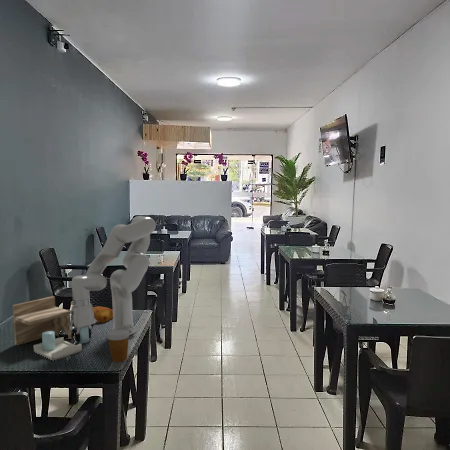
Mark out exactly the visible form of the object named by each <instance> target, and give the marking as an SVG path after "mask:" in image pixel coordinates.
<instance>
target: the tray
mask: <svg viewBox="0 0 450 450" xmlns="http://www.w3.org/2000/svg"><path fill="white" fill-rule="evenodd" d="M82 351H83V344H80V343H78V344H74V343H72V342H69V341H68V340H65V339H64V337H59V336H58V337H57V338H56V335H55V333H54V331H46V332H43V333H42V338H41V342H40V343H37V344H33V353H34V352H35V354H36V353H37V355H38V354H40V355H39V356H41V355H42V356H41V357H43V356H44V357H43V358H45V357H46V358H45V359H47V358H48V359H47V360H49V359H50V361H51V360H52V362H55V361H57V359H58V360H60V359H63V358H66V357H68V356H71V355H74V354H77V353H80V352H82ZM54 360H55V361H54Z"/></svg>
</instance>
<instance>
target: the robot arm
mask: <svg viewBox="0 0 450 450" xmlns="http://www.w3.org/2000/svg"><path fill="white" fill-rule="evenodd" d="M156 225H157V223H156V221H155V220H154V219H153V218H152V217H149V216H142V215H138V216H135V217H133V218H132V219H131V222H130V223H128V224H115V226H113V227H112V229H111V231H110V234H109V236H108V237H107V239H106V241H105V243H104V245H103V247H102V249H101V250H100V252H99V253H98V254H97V255H96V256H95V258H94V259H93V260H92V262H91V263H90V265H89V267H88V269H87V270H86V273H85V275H75V276H73V277H72V279H71V290H72V301H71V302H70V306H71V310H70V320H71V323H70V325H69V326H68V329H69V330H70V331H71V333H73V334H74V341H75V342H76V343H78V342H80V334H79V329H80V328H82V327H85V326H88V328H89V340H90V339H91V338H92V330H93V327H94V326H95V324H96V323H98V322H97V320H96V319H95V318H94V312H93V307H94V306H93V304H92V303H91V302H90V301H91V300H90V298H91V297H90V291H93V292H94V291H95V292H96V291H101V290H102V291H103V289H105V288H107V285H108V280H107V278H106V277H105V276H104V275H103V272H104V270H105V269H106V268H107V267H108V265H110V264H112V262H115V261H116V260H117V259H118V258H119V257H120V255H121V252H122V250H123V248H124V246H125V244H129V243H131V244H130V246H129V247H128V249H127V251H126V253H125V255H124V256H123V258H122V265H123V266H124V267H125V268H126V269H117V270H115V271H113V272H112V273H111V275H110V278H109V284H110V291H111V298H112V299H111V300H112V310H113V318H112V321H113V323H112V324H113V325H112V326H113V327H112V329H111V330H113V329H118V328H124V329H128V330H129V333H130V335H129V336H131V335H133V334H135V333H136V332H137V330H138V329H137V327H135V324H134V321H133V296H132V295H133V294H132V293H133V292H134V291H135V290H137V288H138V287H139V286H140V283H141V281H142V280H143V278H144V276H145V274H146V272H147V271H148V268H149V266H150V265H149V263H150V262H149V261H150V260H149V258H148V256H147V255H146V253H147V251H148V249H149V247H150V244H151V243H150V242H151V234H153V232H155V230H156V227H157V226H156Z"/></svg>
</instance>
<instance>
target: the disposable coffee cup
mask: <svg viewBox="0 0 450 450" xmlns="http://www.w3.org/2000/svg"><path fill="white" fill-rule="evenodd" d="M112 329H113V328H112ZM112 329H110V330H109V331H107V334H106V337H107V340H108V346H109V347H108V348H109V352H110V357H111V361H112V362H115V363H121V362H125V361H127V359H128V348H129V339H130V338H129V337H130V336H131V335H130V333H129V330H128V329H124V328H118V329H113V330H112Z"/></svg>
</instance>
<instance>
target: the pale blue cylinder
mask: <svg viewBox="0 0 450 450" xmlns="http://www.w3.org/2000/svg"><path fill="white" fill-rule="evenodd" d="M79 334H80V342H77V343H78V344H82V345H83V344H87V343H89V342H90V339H89V328H88V326H85V327H82V328H80V329H79Z"/></svg>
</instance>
